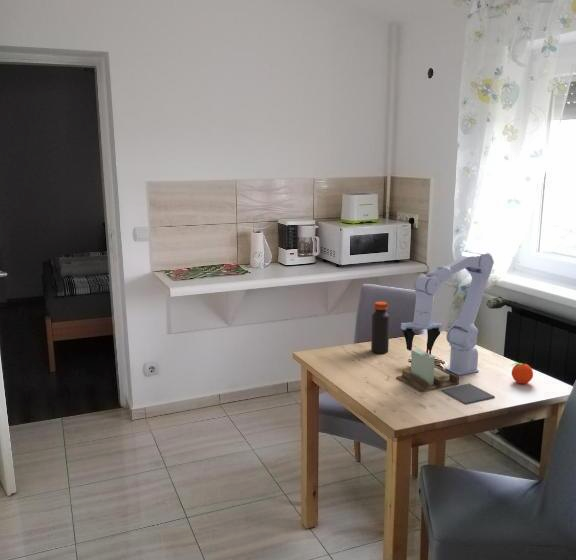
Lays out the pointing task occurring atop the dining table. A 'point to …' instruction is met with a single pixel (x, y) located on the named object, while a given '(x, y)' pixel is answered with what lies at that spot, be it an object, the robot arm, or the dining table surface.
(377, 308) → the bottle
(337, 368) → the dining table surface
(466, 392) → the mat
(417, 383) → the rack
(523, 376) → the tomato
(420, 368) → the sage panel
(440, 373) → the offcut top
